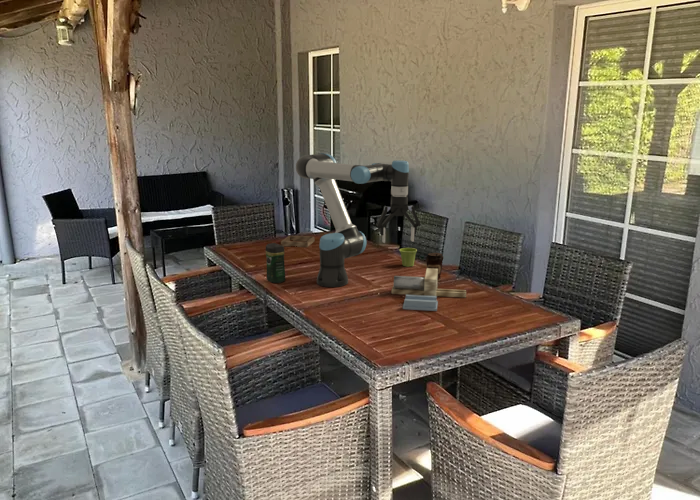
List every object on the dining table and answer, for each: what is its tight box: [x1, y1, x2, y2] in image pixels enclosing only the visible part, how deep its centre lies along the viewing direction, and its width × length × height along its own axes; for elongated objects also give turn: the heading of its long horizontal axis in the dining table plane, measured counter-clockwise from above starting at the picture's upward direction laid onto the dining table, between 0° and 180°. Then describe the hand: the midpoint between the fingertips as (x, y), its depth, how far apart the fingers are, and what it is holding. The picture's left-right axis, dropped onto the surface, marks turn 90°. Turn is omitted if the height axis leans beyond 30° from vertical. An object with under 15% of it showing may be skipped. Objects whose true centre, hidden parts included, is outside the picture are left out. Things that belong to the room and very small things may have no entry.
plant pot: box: [399, 247, 418, 268], centre depth 299 cm, size 9×9×9 cm
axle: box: [393, 275, 438, 291], centre depth 252 cm, size 19×6×6 cm, turn 79°
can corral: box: [280, 235, 315, 248], centre depth 353 cm, size 17×17×3 cm
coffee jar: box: [265, 242, 286, 284], centre depth 272 cm, size 10×8×19 cm
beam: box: [391, 267, 467, 298], centre depth 251 cm, size 33×18×10 cm, turn 79°
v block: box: [402, 294, 439, 312], centre depth 235 cm, size 14×10×4 cm
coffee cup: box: [425, 252, 444, 282], centre depth 272 cm, size 9×8×13 cm
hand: (398, 241), depth 256 cm, fingers open, 13 cm apart
